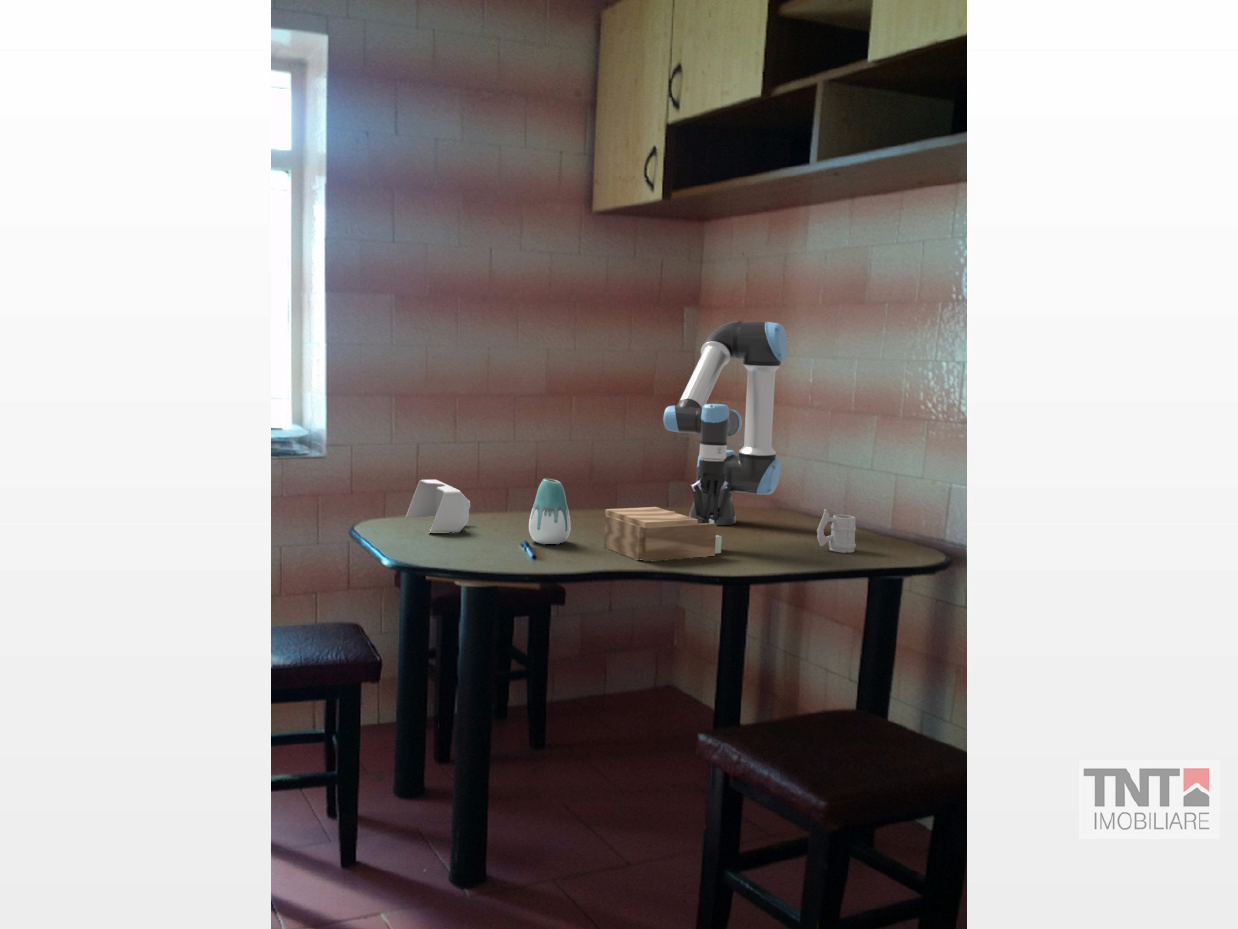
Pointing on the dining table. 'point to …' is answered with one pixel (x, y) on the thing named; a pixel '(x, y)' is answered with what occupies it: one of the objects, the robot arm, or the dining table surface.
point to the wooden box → (657, 534)
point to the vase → (550, 514)
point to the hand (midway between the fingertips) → (707, 542)
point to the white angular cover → (440, 506)
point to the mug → (838, 532)
